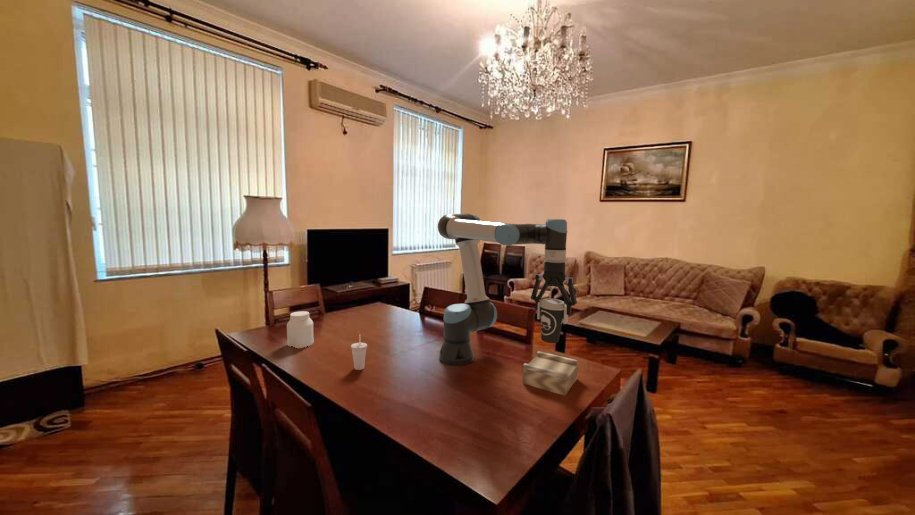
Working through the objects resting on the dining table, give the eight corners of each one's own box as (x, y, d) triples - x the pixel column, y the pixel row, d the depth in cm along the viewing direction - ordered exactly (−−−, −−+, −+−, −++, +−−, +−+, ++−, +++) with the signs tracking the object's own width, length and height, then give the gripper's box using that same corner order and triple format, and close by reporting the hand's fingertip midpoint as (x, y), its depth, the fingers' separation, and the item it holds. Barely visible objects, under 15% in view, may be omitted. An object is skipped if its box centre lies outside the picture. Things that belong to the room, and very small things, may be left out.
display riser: (522, 383, 131) (523, 364, 130) (537, 368, 144) (538, 351, 143) (565, 395, 122) (566, 375, 121) (577, 378, 135) (578, 360, 135)
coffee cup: (564, 346, 126) (567, 305, 124) (537, 342, 128) (540, 303, 126) (562, 337, 135) (565, 299, 133) (536, 334, 137) (539, 297, 135)
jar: (317, 343, 167) (316, 313, 166) (299, 349, 159) (298, 317, 157) (301, 338, 173) (300, 309, 171) (283, 344, 165) (282, 314, 163)
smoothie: (370, 366, 143) (370, 333, 141) (360, 372, 137) (359, 338, 135) (358, 363, 145) (358, 331, 144) (347, 369, 140) (347, 335, 138)
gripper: (522, 259, 131) (520, 318, 133) (583, 264, 118) (579, 328, 121) (530, 258, 137) (528, 313, 139) (588, 262, 125) (585, 323, 127)
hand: (552, 320), depth 130 cm, fingers closed on coffee cup, 9 cm apart
